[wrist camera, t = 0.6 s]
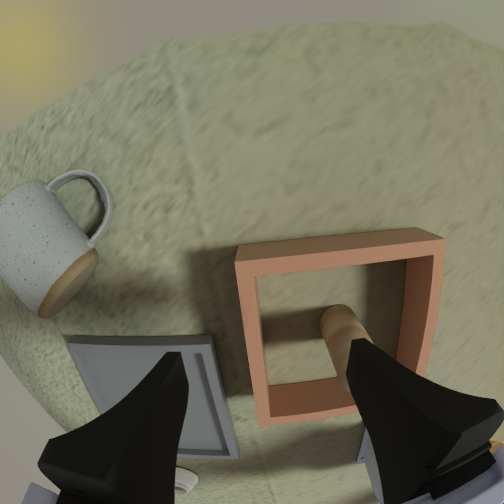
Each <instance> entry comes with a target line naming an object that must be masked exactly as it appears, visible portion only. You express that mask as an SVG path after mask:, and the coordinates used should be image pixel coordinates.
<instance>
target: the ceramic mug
mask: <svg viewBox="0 0 504 504" xmlns="http://www.w3.org/2000/svg"><path fill="white" fill-rule="evenodd" d="M79 177H86V178H88V179H90V180H91V181H92V183H93V184H94V185H95V187H96V188H97V190H98V191H99V193H100V195H101V201H102V202H103V203H104V207H105V214H104V217H103V221H102V223H101V225H100V226H99V228H98V229H97V231H96V232H95V234H94V235H93V236H92V237H91V238H90V239H89V237H88V236H87V235H86V234H85V233H84V231H83V230H82V229H81V228H80V227H79V226H78V225H77V223H76V222H75V221H74V220H73V219H72V218H71V216H70V215H69V213H68V212H67V211H66V209H65V208H64V207H63V205H62V204H61V202H60V201H59V199H58V198H57V197H56V195H55V194H54V191H55V190H56V189H58V188H59V187H60V186H61V185H63V184H64V183H66V182H68V181H70V180H72V179H75V178H79ZM113 211H114V207H113V199H112V195H111V192H110V190H109V188H108V187H107V186H106V184H105V183H104V182H103V180H102V179H101V178H100V177H99V176H98V175H97V174H96V173H94V172H93V171H90V170H86V169H75V170H70V171H67V172H65V173H63V174H61V175H59V176H58V177H56V178H55V179H53V180H52V181H51V182H49V183H48V184H46V183H45V182H43V181H41V180H31V181H27V182H25V183H22V184H21V185H19V186H17V187H16V188H14V189H12V190H11V191H10V192H9V193H7V194H6V195H5V196H4V197H3V198H2V199H1V200H0V277H1V278H2V279H3V281H4V282H5V283H6V284H7V285H8V286H9V287H10V289H11V290H12V291H13V292H14V293H15V294H16V296H17V297H18V298H19V299H20V300H21V301H22V303H23V304H24V305H25V306H26V307H27V308H28V309H30V310H31V311H32V312H34V313H35V314H36V315H38V316H39V317H41V318H44V319H45V318H51V317H53V316H54V315H55V314H57V313H58V312H59V311H60V310H61V309H62V308H63V307H64V306H65V305H66V304H67V303H68V302H69V301H70V300H71V299H72V298H73V297H74V295H75V294H76V293H77V292H78V291H79V289H80V288H81V287H82V286H83V285H84V283H85V282H86V281H87V279H88V278H89V277H90V275H91V274H92V272H93V271H94V269H95V267H96V265H97V263H98V253H97V251H96V249H95V244H96V243H97V242H98V241H99V240H100V239H101V238H102V237H103V236H104V234H105V232H106V230H107V229H108V227H109V225H110V223H111V220H112V217H113Z"/></svg>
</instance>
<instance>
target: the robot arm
mask: <svg viewBox="0 0 504 504" xmlns="http://www.w3.org/2000/svg"><path fill="white" fill-rule="evenodd" d="M346 378H347V381H348V385H349V388H350V392H351V394H352V397H353V399H354V401H355V404H356V406H357V408H358V410H359V413H360V415H361V417H362V419H363V422H364V424H365V426H366V427H365V431H364V435H363V439H362V443H361V447H360V451H359V454H358V458H357V463H358V464H361V463H365V465H366V468H367V471H368V474H369V478H370V481H371V484H372V487H373V491H374V494H375V496H376V497H377V498H378V499H379V501H380V504H503V503H504V445H503V446H501V447H500V448H498V449H497V450H496V451H495V452H494V453H491V452H490V450H489V449H491V447H492V444H491V443H490V441H489V440H490V439H491V437H492V436H493V435H494V433H495V432H496V431H497V429H498V428H499V427H500V425H501V424H502V422H503V420H504V410H503V409H502V408H501V407H500V405H499V404H498V403H497V401H496V400H495V399H489V398H482V397H476V396H472V395H468V394H464V393H460V392H457V391H454V390H451V389H448V388H446V387H443V386H441V385H438V384H436V383H434V382H432V381H430V380H428V379H426V378H424V377H422V376H420V375H418V374H416V373H415V372H413V371H411V370H410V369H408V368H407V367H405V366H403V365H402V364H400V363H399V362H397V361H396V360H395V359H393V358H392V357H390V356H389V355H388V354H386V353H385V352H384V351H382V350H381V349H380V348H378V347H377V346H376V345H374V344H373V343H372V342H370V341H369V340H367V339H366V338H358V339H352V341H351V347H350V353H349V358H348V364H347V369H346ZM188 395H189V383H188V379H187V375H186V371H185V367H184V363H183V359H182V354H181V352H166V353H165V354H164V355H163V357H162V358H161V359H160V360H159V361H158V362H157V364H156V365H155V366H154V367H153V368H152V369H151V370H150V372H149V373H148V374H147V375H146V376H145V377H144V378H143V379H142V380H141V382H140V383H139V384H138V385H137V386H136V387H135V388H134V389H133V390H132V391H130V392H129V393H128V394H127V395H126V396H125V397H124V398H123V399H122V400H121V401H119V402H118V403H117V404H116V405H114V406H113V407H112V408H111V409H109V410H108V411H106V412H105V413H103V414H102V415H100V416H99V417H97V418H95V419H94V420H92V421H91V422H89V423H87V424H85V425H83V426H81V427H79V428H77V429H75V430H73V431H71V432H68V433H66V434H63V435H60V436H58V437H55V438H52V439H49V441H48V443H47V445H46V446H45V449H44V451H43V453H42V455H41V457H40V459H39V461H38V467H39V469H40V471H41V472H42V473H43V474H44V475H45V476H46V477H47V478H48V479H49V480H50V481H52V483H54V484H55V485H56V486H57V487H58V488H59V489H60V490H61V491H60V494H59V495H57V494H56V493H54V492H52V491H50V490H48V489H46V488H43V487H41V486H39V485H37V484H35V483H33V482H32V483H30V485H29V487H28V489H27V492H26V494H25V497H24V499H23V502H22V504H174V498H175V473H176V460H177V452H178V446H179V441H180V437H181V432H182V428H183V424H184V419H185V415H186V410H187V405H188Z"/></svg>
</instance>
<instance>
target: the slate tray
mask: <svg viewBox="0 0 504 504" xmlns="http://www.w3.org/2000/svg"><path fill="white" fill-rule="evenodd" d="M67 345H68V347H69V350H70V352H71V354H72V357H73V359H74V361H75V363H76V366H77V368H78V370H79V372H80V374H81V376H82V378H83V380H84V382H85V384H86V386H87V388H88V390H89V392H90V394H91V396H92V398H93V400H94V402H95V404H96V405H97V407H98V409H99V411H100V412H101V414H103V413H105V412H106V411H108V410H109V409H111V408H112V407H113V406H114V405H116V404H117V403H118V402H119V401H121V400H122V399H123V398H124V397H125V396H126V395H127V394H128V393H129V392H130V391H132V390H133V389H134V388H135V387H136V386H137V385H138V384H139V383H140V382H141V380H142V379H143V378H144V377H145V376H146V375H147V374H148V373H149V372H150V370H151V369H152V368H153V367H154V366H155V365H156V364H157V362H158V361H159V360H160V359H161V358H162V357H163V355H164V354H165V353H166V352H181V354H182V359H183V363H184V367H185V371H186V375H187V379H188V383H189V395H188V405H187V410H186V415H185V419H184V424H183V428H182V432H181V437H180V441H179V446H178V452H177V457H179V458H194V459H239V450H240V449H239V445H238V442H237V438H236V434H235V430H234V426H233V422H232V418H231V414H230V410H229V406H228V402H227V398H226V394H225V389H224V385H223V381H222V376H221V372H220V367H219V363H218V358H217V354H216V349H215V344H214V339H213V334H206V335H185V336H147V337H115V336H79V335H74V336H73V337H72V338H71V339H70V340H69V341H68V342H67Z"/></svg>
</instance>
